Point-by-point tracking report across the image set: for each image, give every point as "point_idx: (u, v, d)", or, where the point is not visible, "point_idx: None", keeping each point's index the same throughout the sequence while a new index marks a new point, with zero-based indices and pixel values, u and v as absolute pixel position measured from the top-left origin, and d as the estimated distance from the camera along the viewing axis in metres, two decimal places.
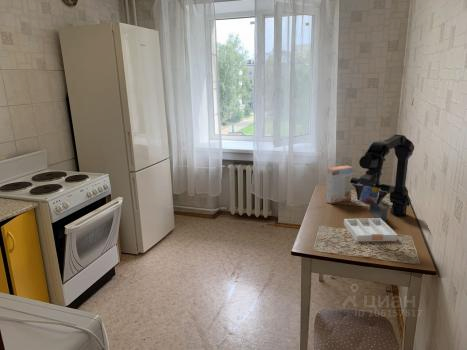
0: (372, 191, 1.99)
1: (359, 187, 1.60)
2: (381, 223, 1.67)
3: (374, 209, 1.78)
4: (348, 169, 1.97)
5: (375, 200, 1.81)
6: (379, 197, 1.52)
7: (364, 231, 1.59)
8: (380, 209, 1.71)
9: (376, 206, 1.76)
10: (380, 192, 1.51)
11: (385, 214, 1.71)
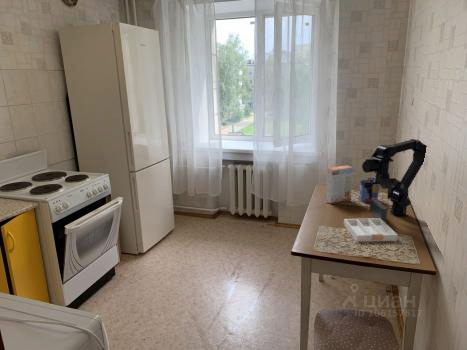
0: (372, 191, 1.99)
1: None
2: (381, 223, 1.67)
3: (374, 209, 1.78)
4: (348, 169, 1.97)
5: (375, 200, 1.81)
6: (391, 192, 1.73)
7: (364, 231, 1.59)
8: (380, 209, 1.71)
9: (376, 206, 1.76)
10: (394, 189, 1.72)
11: (385, 214, 1.71)
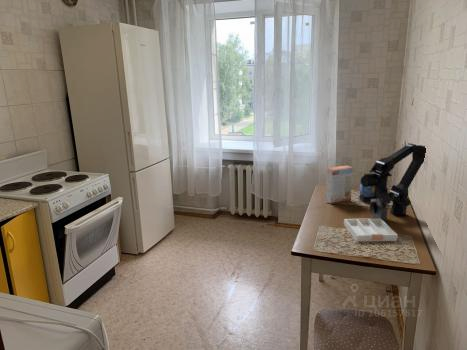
0: (372, 191, 1.99)
1: None
2: (381, 223, 1.67)
3: None
4: (348, 169, 1.97)
5: None
6: None
7: (364, 231, 1.59)
8: (380, 209, 1.71)
9: (376, 206, 1.76)
10: (386, 203, 1.74)
11: (385, 214, 1.71)
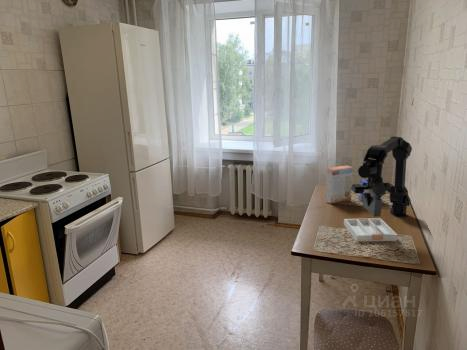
0: (372, 191, 1.99)
1: None
2: (381, 223, 1.67)
3: None
4: (348, 169, 1.97)
5: (369, 191, 1.62)
6: None
7: (364, 231, 1.59)
8: (374, 200, 1.52)
9: (370, 197, 1.57)
10: (381, 194, 1.55)
11: (379, 206, 1.52)
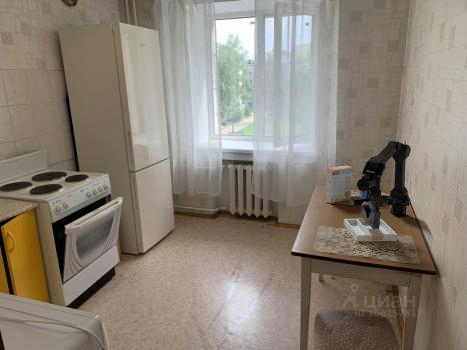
0: None
1: None
2: (381, 223, 1.67)
3: None
4: (348, 169, 1.97)
5: None
6: None
7: (364, 231, 1.59)
8: (373, 213, 1.53)
9: (368, 209, 1.58)
10: (379, 207, 1.56)
11: (378, 218, 1.53)
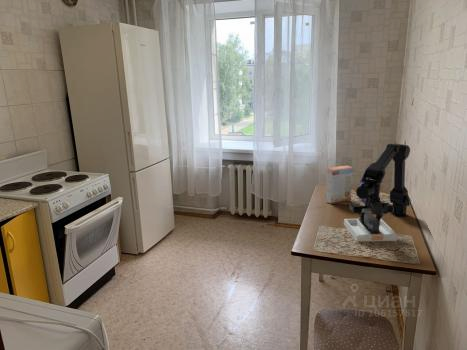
0: None
1: None
2: (381, 223, 1.67)
3: (365, 221, 1.62)
4: (348, 169, 1.97)
5: (367, 211, 1.65)
6: (380, 217, 1.59)
7: (364, 231, 1.59)
8: (372, 222, 1.55)
9: (367, 218, 1.59)
10: (382, 214, 1.57)
11: (377, 228, 1.54)
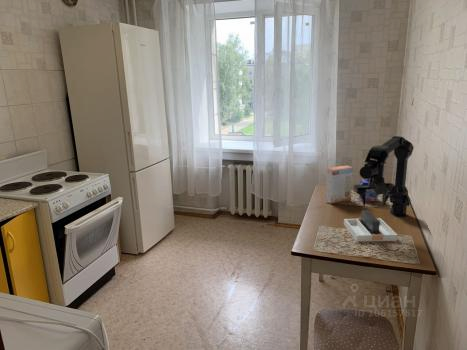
0: (372, 191, 1.99)
1: None
2: (381, 223, 1.67)
3: (365, 221, 1.62)
4: (348, 169, 1.97)
5: (367, 211, 1.65)
6: (386, 198, 1.59)
7: (364, 231, 1.59)
8: (372, 222, 1.55)
9: (367, 218, 1.59)
10: (389, 194, 1.57)
11: (377, 228, 1.54)
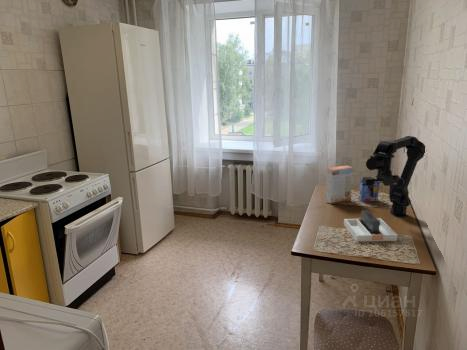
0: None
1: None
2: (381, 223, 1.67)
3: (365, 221, 1.62)
4: (348, 169, 1.97)
5: (367, 211, 1.65)
6: (393, 190, 1.69)
7: (364, 231, 1.59)
8: (372, 222, 1.55)
9: (367, 218, 1.59)
10: (396, 186, 1.67)
11: (377, 228, 1.54)
